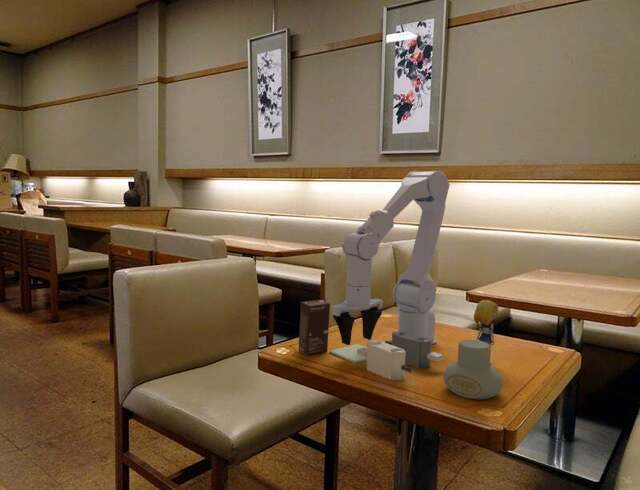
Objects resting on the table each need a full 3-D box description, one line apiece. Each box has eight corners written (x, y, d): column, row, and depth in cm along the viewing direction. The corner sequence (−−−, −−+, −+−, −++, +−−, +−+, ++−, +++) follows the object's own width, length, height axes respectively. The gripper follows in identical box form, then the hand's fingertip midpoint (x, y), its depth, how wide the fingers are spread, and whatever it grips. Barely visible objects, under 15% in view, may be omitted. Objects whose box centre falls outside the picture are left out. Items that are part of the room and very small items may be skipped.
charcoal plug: (380, 356, 113) (382, 331, 112) (389, 353, 116) (391, 328, 115) (435, 373, 103) (436, 346, 102) (443, 369, 106) (445, 342, 105)
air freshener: (435, 392, 93) (438, 342, 92) (454, 380, 100) (456, 333, 99) (491, 409, 86) (495, 355, 85) (507, 395, 93) (511, 345, 92)
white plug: (415, 382, 98) (416, 354, 97) (403, 386, 96) (404, 357, 95) (365, 362, 109) (366, 336, 108) (354, 365, 107) (355, 339, 106)
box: (308, 356, 112) (309, 305, 111) (298, 350, 116) (299, 301, 114) (329, 352, 115) (330, 302, 114) (319, 346, 119) (320, 299, 118)
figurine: (498, 365, 109) (502, 300, 107) (483, 370, 106) (487, 303, 104) (481, 359, 113) (485, 296, 111) (466, 363, 110) (470, 299, 108)
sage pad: (357, 345, 120) (357, 343, 120) (383, 356, 113) (383, 353, 113) (329, 352, 115) (329, 350, 115) (355, 363, 108) (355, 361, 108)
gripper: (369, 279, 120) (367, 332, 121) (323, 284, 111) (322, 342, 112) (389, 283, 114) (387, 339, 116) (344, 290, 105) (342, 350, 107)
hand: (356, 341), depth 114 cm, fingers open, 6 cm apart
